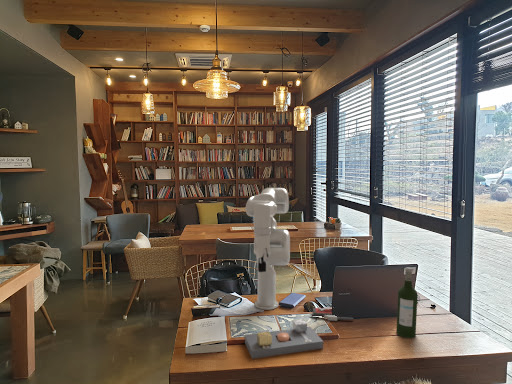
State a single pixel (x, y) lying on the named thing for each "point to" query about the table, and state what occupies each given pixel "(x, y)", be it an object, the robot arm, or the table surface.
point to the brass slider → (264, 338)
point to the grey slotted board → (284, 343)
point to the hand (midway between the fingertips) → (262, 271)
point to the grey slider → (299, 325)
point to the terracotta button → (282, 337)
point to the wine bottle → (407, 308)
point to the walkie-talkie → (327, 314)
